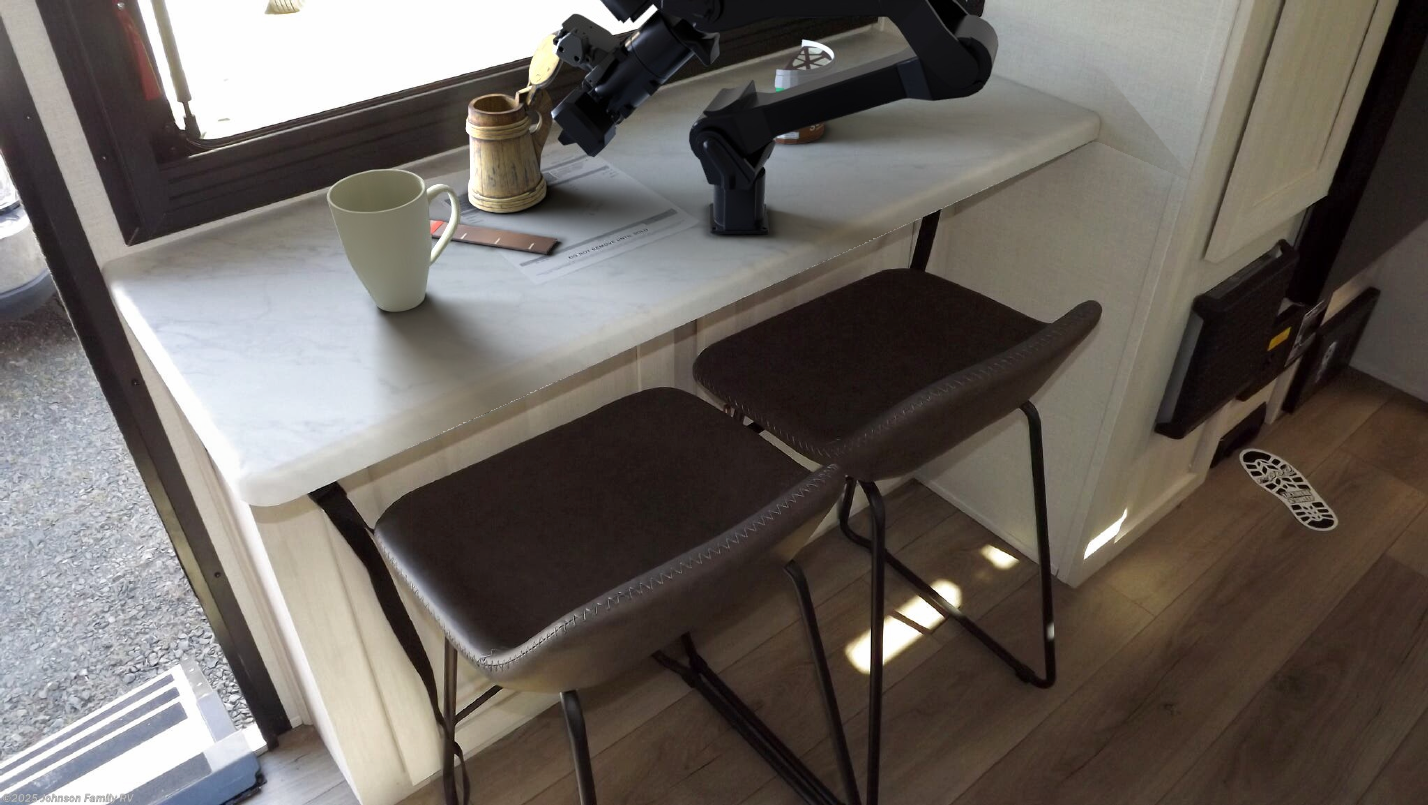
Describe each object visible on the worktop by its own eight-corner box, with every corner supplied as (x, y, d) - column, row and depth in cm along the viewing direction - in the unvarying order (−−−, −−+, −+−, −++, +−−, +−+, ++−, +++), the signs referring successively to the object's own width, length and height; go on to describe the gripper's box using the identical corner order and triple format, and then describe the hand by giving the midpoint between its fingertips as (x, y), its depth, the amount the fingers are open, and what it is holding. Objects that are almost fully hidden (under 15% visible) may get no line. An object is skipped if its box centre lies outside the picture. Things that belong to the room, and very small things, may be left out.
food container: (818, 155, 130) (823, 77, 124) (771, 147, 132) (775, 70, 126) (843, 117, 139) (849, 43, 133) (799, 111, 141) (803, 37, 135)
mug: (434, 329, 100) (412, 218, 92) (338, 318, 101) (309, 208, 94) (474, 270, 108) (457, 165, 101) (385, 261, 110) (361, 156, 102)
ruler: (557, 240, 113) (556, 238, 113) (546, 254, 111) (546, 251, 111) (392, 216, 117) (392, 214, 117) (379, 229, 115) (378, 226, 115)
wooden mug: (593, 193, 122) (582, 41, 111) (483, 220, 117) (460, 63, 106) (564, 164, 128) (551, 17, 117) (458, 188, 123) (434, 36, 112)
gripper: (626, -32, 113) (541, 57, 122) (563, 23, 98) (472, 120, 108) (696, 47, 116) (608, 128, 125) (644, 112, 102) (549, 198, 111)
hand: (561, 141), depth 117 cm, fingers closed
